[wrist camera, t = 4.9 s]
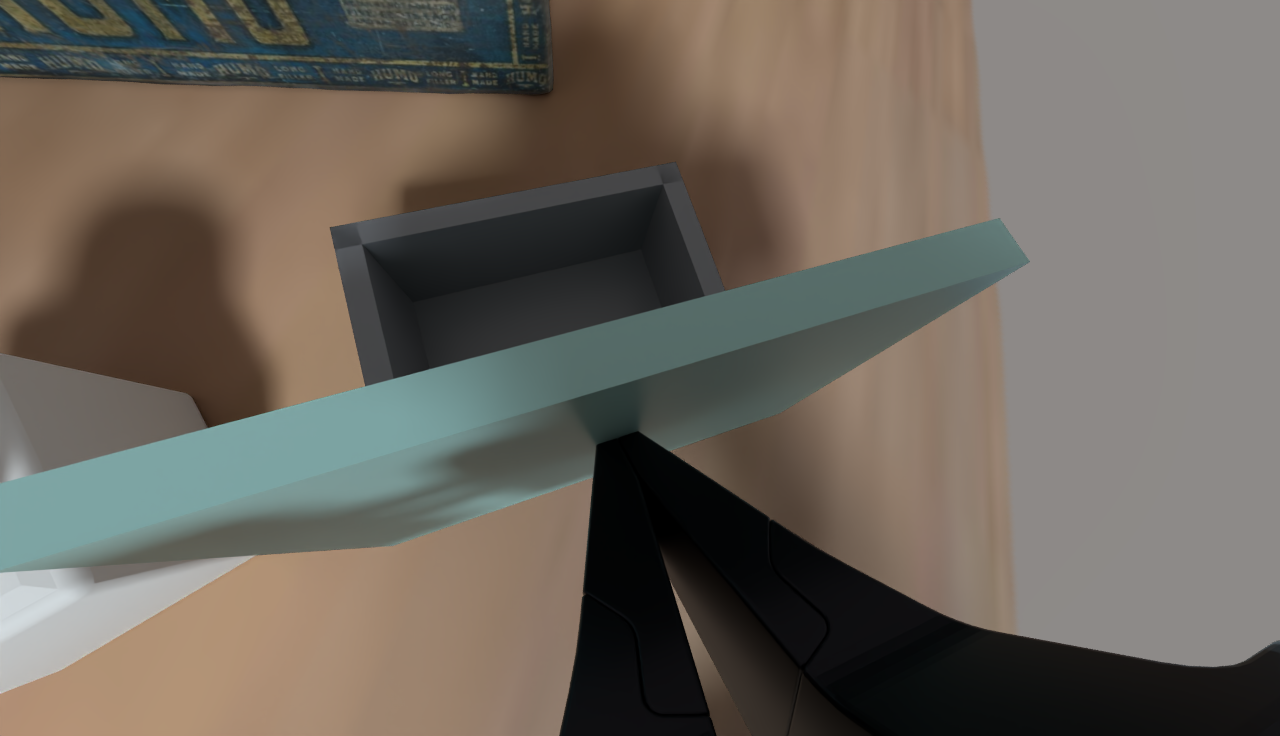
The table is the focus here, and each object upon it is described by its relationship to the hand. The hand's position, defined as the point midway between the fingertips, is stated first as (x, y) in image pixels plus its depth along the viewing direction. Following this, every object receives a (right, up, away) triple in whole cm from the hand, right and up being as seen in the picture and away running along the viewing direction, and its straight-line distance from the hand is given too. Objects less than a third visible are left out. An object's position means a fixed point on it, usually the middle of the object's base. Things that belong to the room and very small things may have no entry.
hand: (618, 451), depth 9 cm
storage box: (-3, +2, +12) cm, 12 cm away
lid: (0, +1, +1) cm, 1 cm away
